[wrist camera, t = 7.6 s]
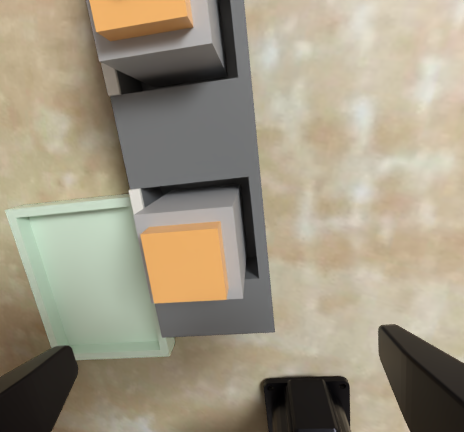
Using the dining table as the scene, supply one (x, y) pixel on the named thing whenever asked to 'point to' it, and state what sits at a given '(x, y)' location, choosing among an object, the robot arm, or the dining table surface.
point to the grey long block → (200, 169)
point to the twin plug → (160, 39)
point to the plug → (194, 244)
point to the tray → (89, 277)
